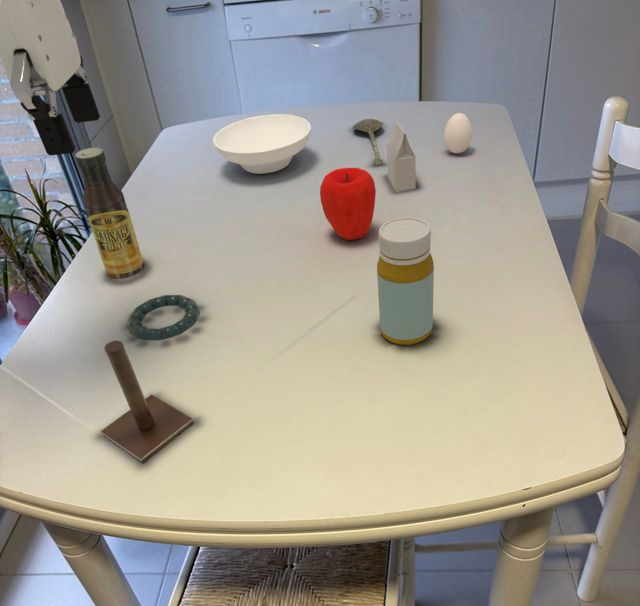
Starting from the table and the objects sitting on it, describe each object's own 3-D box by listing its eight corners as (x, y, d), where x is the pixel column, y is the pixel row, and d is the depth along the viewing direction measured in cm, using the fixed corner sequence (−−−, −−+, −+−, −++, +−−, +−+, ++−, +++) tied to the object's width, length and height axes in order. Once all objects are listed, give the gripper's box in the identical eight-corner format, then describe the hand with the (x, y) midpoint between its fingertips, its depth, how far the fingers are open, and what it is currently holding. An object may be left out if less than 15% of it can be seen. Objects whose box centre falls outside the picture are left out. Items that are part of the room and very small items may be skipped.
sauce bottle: (108, 287, 105) (61, 165, 91) (108, 268, 109) (63, 149, 95) (148, 278, 105) (107, 156, 91) (147, 260, 110) (107, 140, 96)
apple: (314, 240, 108) (306, 177, 101) (347, 218, 112) (342, 156, 105) (355, 254, 103) (350, 189, 96) (388, 230, 108) (386, 166, 100)
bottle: (370, 331, 88) (363, 230, 78) (409, 310, 91) (407, 209, 80) (403, 354, 84) (400, 250, 74) (443, 332, 86) (446, 228, 76)
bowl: (305, 186, 123) (300, 150, 119) (208, 189, 127) (200, 154, 122) (322, 145, 137) (318, 111, 132) (234, 149, 141) (227, 116, 136)
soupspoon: (381, 126, 142) (352, 132, 143) (380, 110, 140) (350, 116, 141) (394, 163, 126) (361, 169, 126) (393, 146, 124) (359, 152, 124)
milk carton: (395, 192, 117) (394, 136, 110) (387, 177, 122) (385, 122, 115) (415, 189, 117) (415, 132, 110) (407, 174, 122) (406, 119, 115)
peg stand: (103, 436, 79) (62, 353, 70) (153, 400, 83) (120, 316, 74) (143, 464, 75) (105, 379, 66) (194, 424, 79) (165, 338, 70)
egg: (448, 146, 129) (449, 107, 124) (474, 148, 127) (476, 109, 122) (439, 157, 126) (440, 118, 121) (466, 159, 124) (468, 119, 119)
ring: (116, 330, 95) (112, 319, 94) (170, 296, 101) (166, 285, 99) (160, 354, 90) (156, 342, 89) (215, 316, 95) (212, 305, 94)
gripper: (5, -51, 70) (68, 113, 82) (-69, -16, 58) (18, 171, 70) (70, -62, 69) (125, 106, 81) (9, -28, 57) (84, 163, 69)
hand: (75, 136), depth 76 cm, fingers open, 9 cm apart
